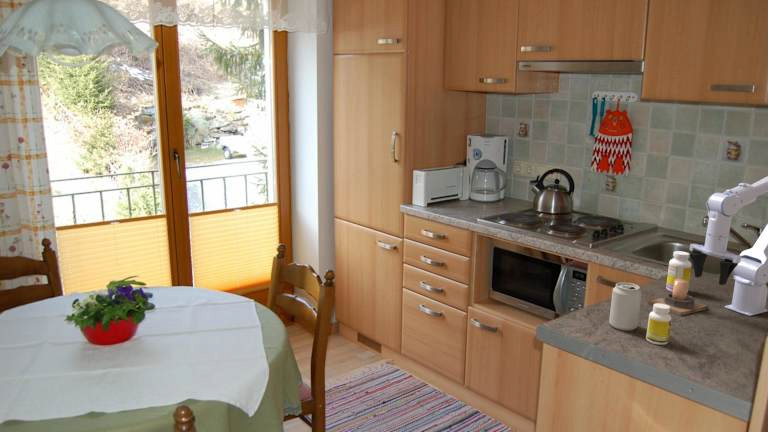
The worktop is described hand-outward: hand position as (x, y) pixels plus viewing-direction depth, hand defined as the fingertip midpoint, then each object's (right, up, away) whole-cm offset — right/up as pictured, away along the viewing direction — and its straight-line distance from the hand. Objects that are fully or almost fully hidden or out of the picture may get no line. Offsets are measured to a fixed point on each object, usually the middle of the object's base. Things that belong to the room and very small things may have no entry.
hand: (710, 280), depth 187 cm
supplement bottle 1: (-23, -14, -19) cm, 33 cm away
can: (-29, -12, -9) cm, 33 cm away
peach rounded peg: (-6, -8, +8) cm, 12 cm away
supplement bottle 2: (+1, -6, +23) cm, 24 cm away
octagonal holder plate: (-6, -9, +8) cm, 13 cm away
